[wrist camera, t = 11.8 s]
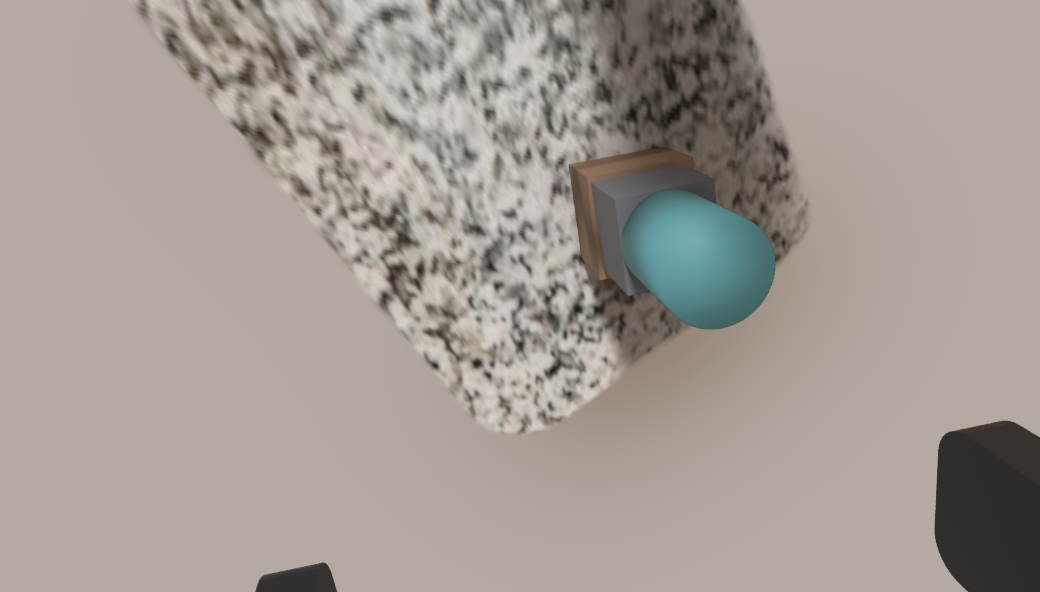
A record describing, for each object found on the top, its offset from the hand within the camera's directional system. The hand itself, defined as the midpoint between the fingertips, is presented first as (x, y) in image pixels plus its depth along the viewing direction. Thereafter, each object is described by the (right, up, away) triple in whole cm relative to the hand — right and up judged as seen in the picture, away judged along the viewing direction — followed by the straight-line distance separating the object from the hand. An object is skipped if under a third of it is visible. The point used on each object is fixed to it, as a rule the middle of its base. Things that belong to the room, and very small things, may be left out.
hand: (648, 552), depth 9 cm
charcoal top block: (+5, +8, +31) cm, 33 cm away
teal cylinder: (+6, +6, +27) cm, 28 cm away
